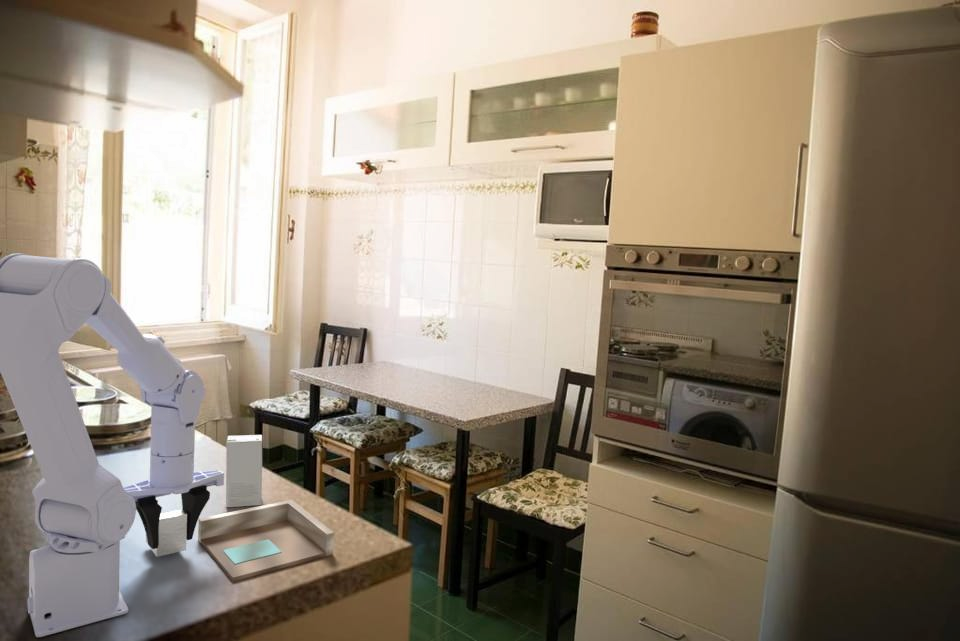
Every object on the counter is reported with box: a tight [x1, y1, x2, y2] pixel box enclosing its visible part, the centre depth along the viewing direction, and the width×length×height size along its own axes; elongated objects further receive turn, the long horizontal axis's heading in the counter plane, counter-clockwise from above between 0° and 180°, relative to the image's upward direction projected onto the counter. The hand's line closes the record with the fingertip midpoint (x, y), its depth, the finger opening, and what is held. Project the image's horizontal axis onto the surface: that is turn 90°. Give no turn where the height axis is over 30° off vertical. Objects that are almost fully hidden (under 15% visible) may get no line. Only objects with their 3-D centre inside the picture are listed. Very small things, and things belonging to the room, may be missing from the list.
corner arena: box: [197, 499, 335, 583], centre depth 99 cm, size 15×15×4 cm
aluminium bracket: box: [145, 509, 187, 558], centre depth 95 cm, size 4×6×6 cm, turn 41°
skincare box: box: [225, 434, 263, 508], centre depth 115 cm, size 6×4×12 cm
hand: (170, 541), depth 93 cm, fingers closed on aluminium bracket, 4 cm apart
